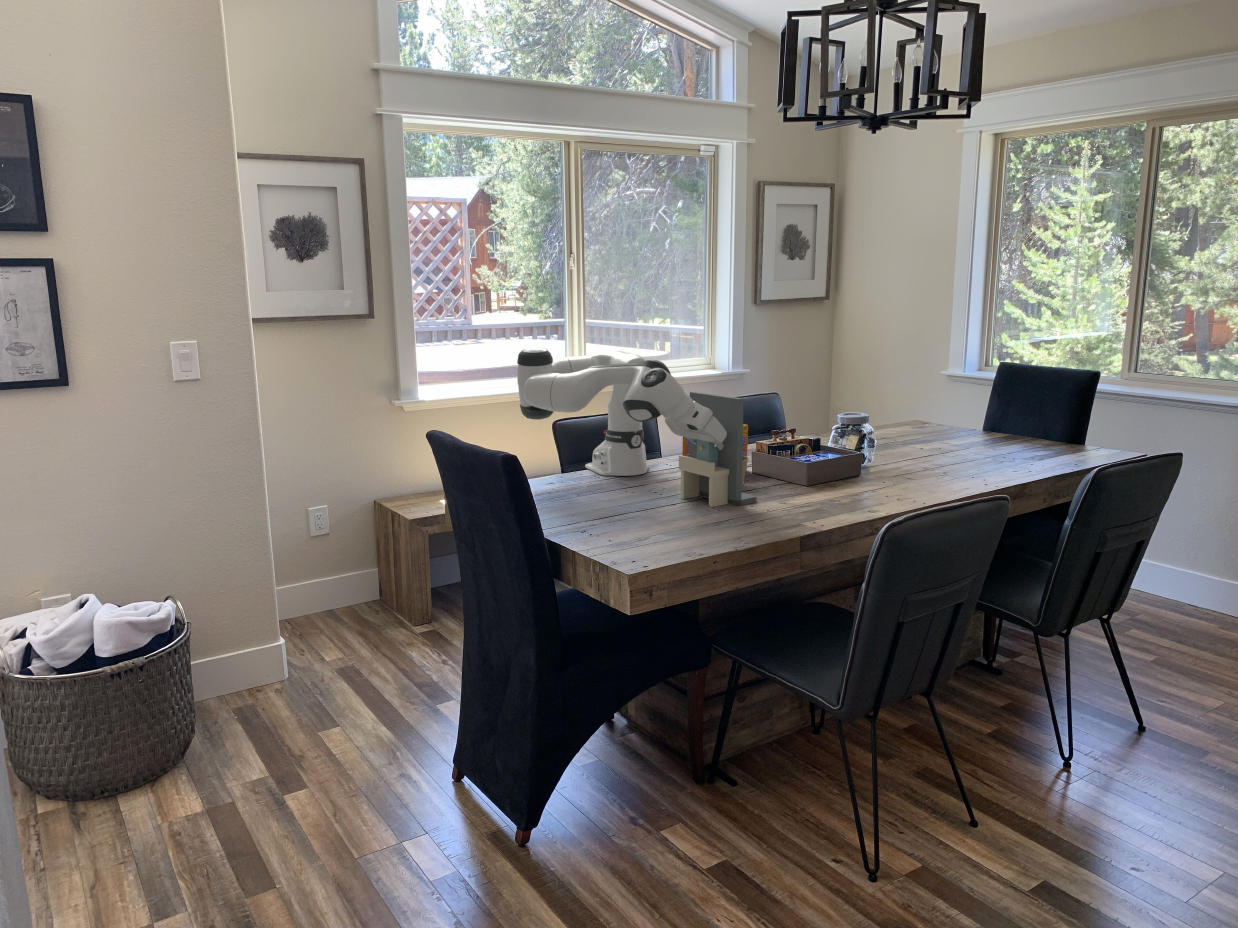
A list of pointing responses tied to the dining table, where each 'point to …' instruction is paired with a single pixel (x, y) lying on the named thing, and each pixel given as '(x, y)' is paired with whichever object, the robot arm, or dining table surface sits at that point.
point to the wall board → (727, 477)
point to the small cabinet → (707, 452)
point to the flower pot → (744, 467)
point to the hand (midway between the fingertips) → (709, 445)
